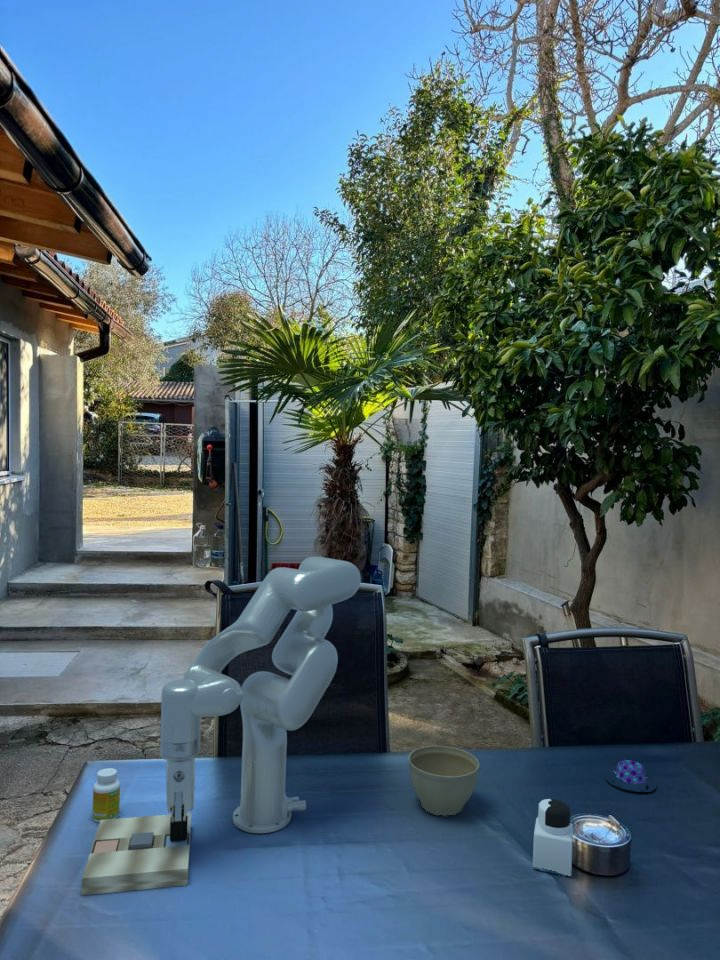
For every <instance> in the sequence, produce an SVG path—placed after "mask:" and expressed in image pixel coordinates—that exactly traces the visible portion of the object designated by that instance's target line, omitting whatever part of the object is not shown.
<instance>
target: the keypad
mask: <svg viewBox="0 0 720 960" xmlns="http://www.w3.org/2000/svg"><path fill="white" fill-rule="evenodd" d="M186 816H188V821H187V834H188V835H187V845H185V846H173V847H165V845H166V837H167V836H170V820H171V813H169V814H159V815H145V816H134V817H132V816H131V817H120V818H118V817H117V818H116V819H105V820H101V821H100V823H99V824H98V827H97V831H96V833H95V836H94V839H93V843H92V846H91V850H90V852H89V855H88V858H87V861H86V865H85V867H84V871H83V875H82V876H81V877H82V878H81V890H80V891H81V892H80V893H81V896H91V895H100V894H110V893H111V894H112V893H113V894H114V893H121V892H130V891H131V892H132V891H139V890H140V891H141V890H142V891H143V890H149V889H150V890H151V889H152V890H153V889H162V888H163V889H164V888H170V887H171V888H172V887H180V886H181V887H183V886H188V885H189V884H188V881H189V866H190V864H189V863H190V851H191V850H190V848H191V828H192V812H186ZM149 832H154V835H153V845H152V848H150V849H138V850H130V842H131V837H132V834H137V833H149ZM111 840H119V841H118V850H117V851H115V852H103V853H93V852H94V849H95V845H96V842H99V841H111Z"/></svg>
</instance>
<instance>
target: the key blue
mask: <svg viewBox="0 0 720 960" xmlns="http://www.w3.org/2000/svg"><path fill="white" fill-rule="evenodd" d="M187 835H188V834H187ZM185 845H187V839H186V840H183V841H173V842H171V841H170V836H167V837H166V845H165V847H173V846H185Z"/></svg>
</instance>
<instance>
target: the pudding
mask: <svg viewBox="0 0 720 960" xmlns="http://www.w3.org/2000/svg"><path fill="white" fill-rule="evenodd" d="M615 771H616V772H615ZM615 771H614V772H615V774H616V775H617V776H616V777H617V778H618V779H621V780H623V781H624V782H626V783H633V784H640V783H645V782H646V781H645V780H646V778H647V776H646V772H645V768H644V766H643V764H640V763H639V762H638V761H634V760H631V759H630V760H629V759H623V760H621V761H619V762H618V763H617V766H616V769H615Z"/></svg>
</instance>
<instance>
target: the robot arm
mask: <svg viewBox="0 0 720 960" xmlns="http://www.w3.org/2000/svg"><path fill="white" fill-rule="evenodd" d="M361 581H362V579H361V572H360V570H359V569H358V567H357V566H356V565H355V564H353V563H352V562H350V561H346V560H342V559H335V558H331V557H330V558H329V557H323V556H309V557H306V558H305V559H304V560H302V561H301V563H300V564H299V566H298V569H297V568H291V567H283V566H282V567H276V568H274V569H272V570H270V571H269V572H268V573H267V574H266V576H265V577H264V579H263V580H262V581H261V584H260V585H259V586H258V588H257V589H256V591H255V592H254V594H253V596H252V597H251V599H250V600H249V602H248V603H247V605H246V606H245V607H244V609H243V611H242V613H241V614H240V615H239V617H238V619H236V621H234V622H233V623H232V624H231V625H229V626H228V627H226V628H225V629H223V630H222V631H221V632H220V633H218V634H216V635H215V636H213V638H212V639H210V640H209V641H207V643H206V644H205V645H204V646H203V647H202V649H201V650H200V651H199V652H198V654H197V655H196V656H195V658H194V660H193V661H192V663H191V664H190V665H189V667H188V668H187V671H186V673H185V674H184V677H183V678H181V679H176V680H170V681H168V682H167V683H165V684H164V686H163V687H162V689H161V697H160V698H161V700H160V701H161V705H160V711H161V712H160V713H161V714H160V750H159V751H160V757H161V759H164V760H165V761H166V769H165V770H166V776H165V777H166V779H165V782H166V783H165V785H166V810H167V812H168V813H169V814H171V820H170V841H171V842H173V841H183V840H186V839H187V821H188V816H186V813H188V811H189V812H192V811H193V810H194V807H195V791H196V790H195V786H196V785H195V783H196V781H195V780H196V757H197V756H199V754H200V753H201V730H202V729H201V725H202V723H201V722H202V718H207V717H218V716H219V717H220V716H225V715H228V714H231V713H232V712H234V711H235V710H237V709H238V708H239V706H240V713H241V720H242V753H241V780H240V781H241V783H240V784H241V785H240V804H239V806H237V808H236V809H235V810H234V811H233V814H232V823H233V824H234V826H235V827H236V828H238V829H239V830H241V831H243V832H246V833H251V834H268V833H269V834H271V833H273V832H278V831H279V830H281V829H283V828H285V827H286V826H288V824H289V823H290V822H291V820H292V812H293V811H298V812H300V811H301V812H302V811H306V809H307V802H306V800H300V797H299V796H292V797H289V795H288V796H287V794H286V773H287V772H286V770H287V769H286V768H287V767H286V766H287V745H288V735H287V734H288V733H287V731H296V730H298V729H300V728H302V727H303V725H305V723H307V722H308V720H309V718H310V717H311V716H312V714H313V713H314V711H315V710H316V707H317V706H318V705H319V702H320V700H321V699H322V697H323V696H324V694H325V692H326V691H327V688H328V687H329V685H330V684H331V682H332V680H333V678H334V676H335V673H336V672H337V666H338V663H339V662H338V660H339V657H338V651H337V648H336V647H335V646H334V644H332V642H331V641H329V640H327V639H325V637H326V636H327V633H328V632H329V629H330V628H331V626H332V623H333V618H334V610H333V605H335V604H337V603H341V602H343V601H347V600H348V599H350V598H352V597H353V596H354V595H355V594H356V593H357V591H358V590H359V589H360V586H361ZM291 609H292V610H295V611H296V612H295V614H294V616H293V618H292V619H291V620H290V622H289V624H288V625H287V627H286V629H284V632H283V633H282V635H281V637H280V638H279V639H278V641H277V643H276V644H275V646H274V648H273V649H272V650H273V651H272V653H271V660H272V663H273V665H274V666H275V667H276V668H277V669H278V670H279V671H281V672H283V673H285V674H288V675H290V676H291V677H290V679H288V678H286V677H284V676H281V675H279V674H277V673H273V672H270V671H264V670H263V671H262V670H261V671H256V672H253V673H252V674H250V675H249V676H248V677H247V678H245V680H244V681H243V683H242V685H241V684H239V682H238V681H237V680H235V679H234V678H232V677H230V676H228V675H225V674H223V673H222V671H223V670H224V669H225V667H226V666H227V665H228V664H229V663H230V661H232V660H234V658H236V657H237V656H239V655H241V654H243V653H245V652H248V651H250V650H251V651H252V650H254V649H259V648H262V647H263V646H266V645H269V644H270V643H271V642H272V640H273V639H274V637H275V636H276V633H278V630H279V629H280V627H281V625H282V624H283V622H284V621H285V619H286V617H288V614H289V613H290V611H291Z"/></svg>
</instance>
